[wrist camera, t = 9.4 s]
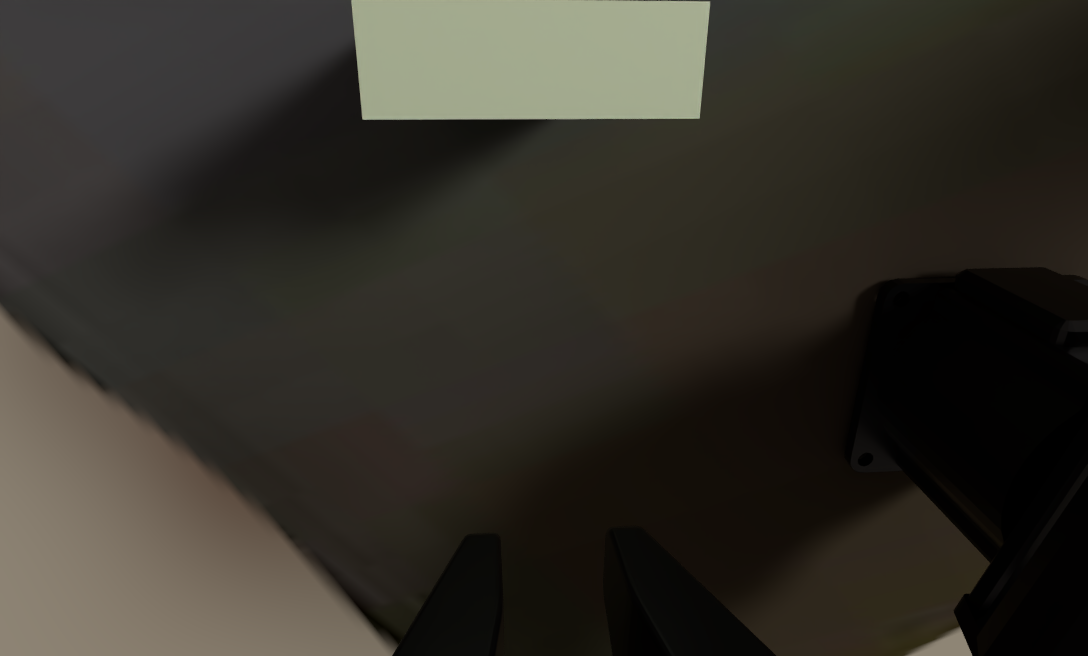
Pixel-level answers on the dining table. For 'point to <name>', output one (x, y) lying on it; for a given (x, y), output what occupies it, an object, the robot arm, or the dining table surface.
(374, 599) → the dining table surface
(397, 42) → the tile
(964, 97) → the dining table surface
